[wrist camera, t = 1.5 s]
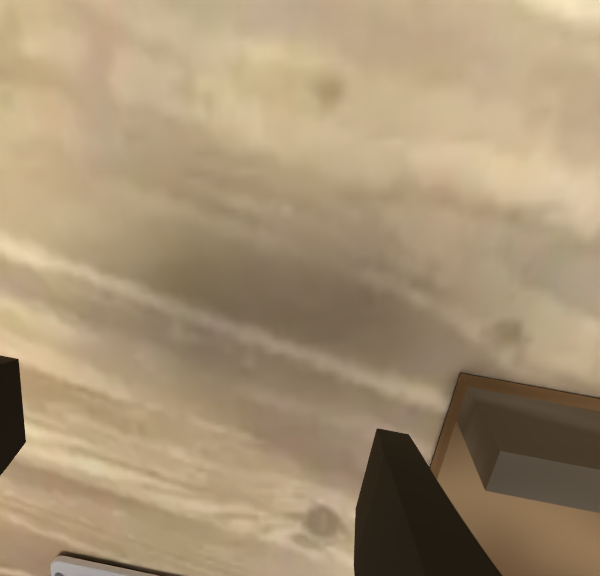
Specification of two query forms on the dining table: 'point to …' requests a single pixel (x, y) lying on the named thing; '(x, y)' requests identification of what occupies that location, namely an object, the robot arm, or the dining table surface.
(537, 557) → the sliding board
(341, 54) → the dining table surface
